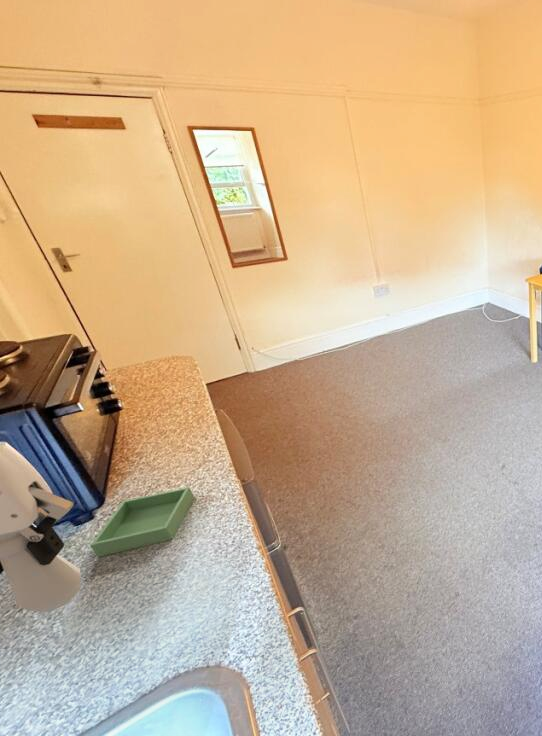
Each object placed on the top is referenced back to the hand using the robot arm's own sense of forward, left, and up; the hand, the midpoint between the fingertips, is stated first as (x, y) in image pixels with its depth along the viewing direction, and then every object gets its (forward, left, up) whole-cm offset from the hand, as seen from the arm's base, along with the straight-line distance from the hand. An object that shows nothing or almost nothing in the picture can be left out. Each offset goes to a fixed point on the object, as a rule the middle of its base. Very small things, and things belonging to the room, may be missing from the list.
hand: (28, 560), depth 51 cm
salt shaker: (0, 0, -8) cm, 8 cm away
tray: (-4, +24, -19) cm, 31 cm away
